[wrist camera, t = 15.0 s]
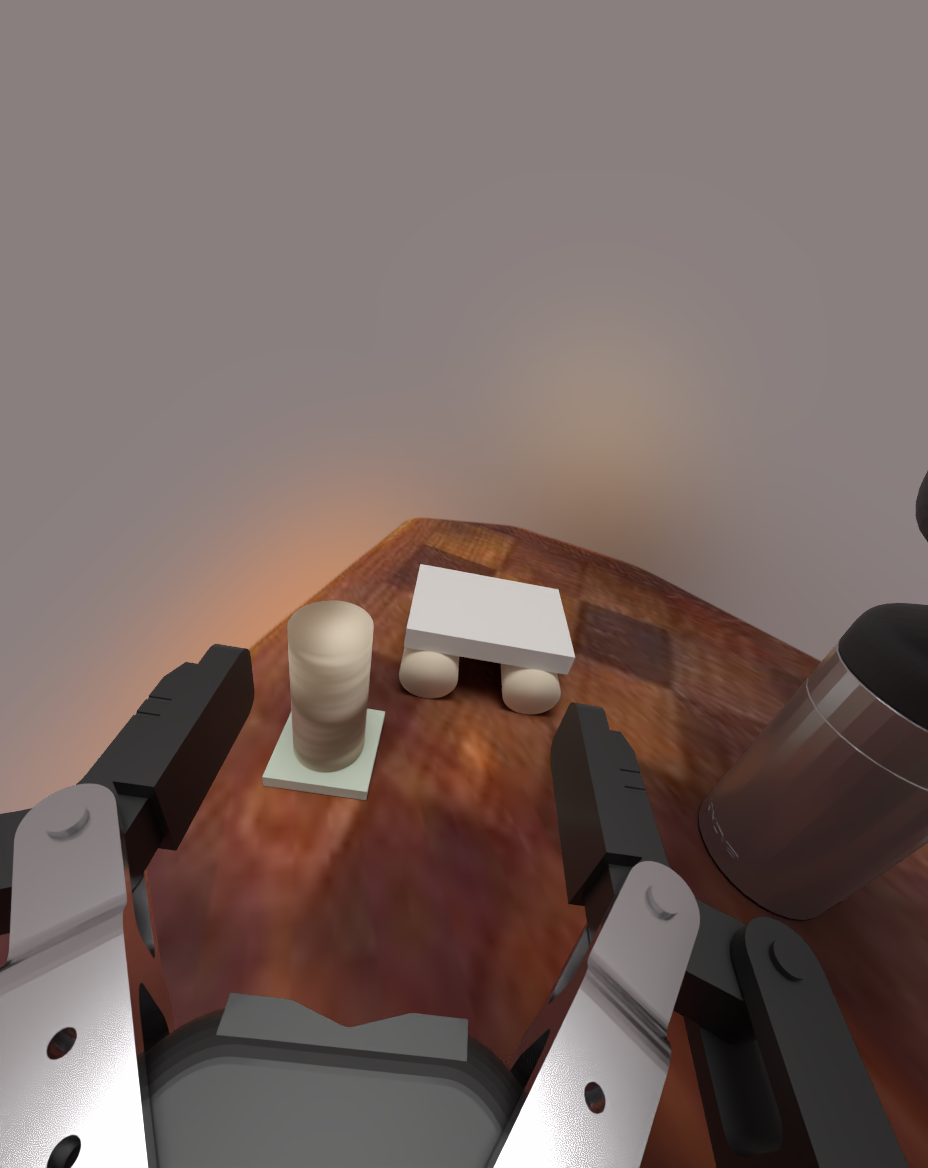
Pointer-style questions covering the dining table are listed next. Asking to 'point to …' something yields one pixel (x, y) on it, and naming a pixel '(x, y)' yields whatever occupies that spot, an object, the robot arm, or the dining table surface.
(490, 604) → the slab rig
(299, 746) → the roller
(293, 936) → the dining table surface
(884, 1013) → the dining table surface
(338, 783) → the green mark
